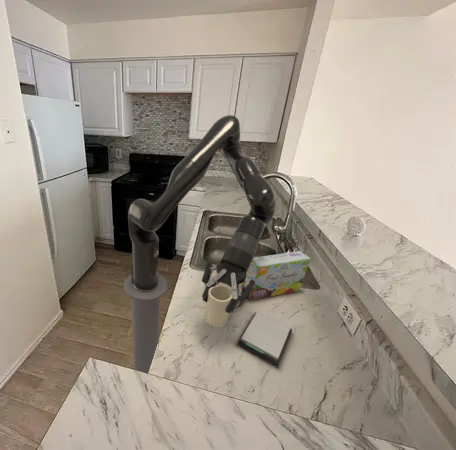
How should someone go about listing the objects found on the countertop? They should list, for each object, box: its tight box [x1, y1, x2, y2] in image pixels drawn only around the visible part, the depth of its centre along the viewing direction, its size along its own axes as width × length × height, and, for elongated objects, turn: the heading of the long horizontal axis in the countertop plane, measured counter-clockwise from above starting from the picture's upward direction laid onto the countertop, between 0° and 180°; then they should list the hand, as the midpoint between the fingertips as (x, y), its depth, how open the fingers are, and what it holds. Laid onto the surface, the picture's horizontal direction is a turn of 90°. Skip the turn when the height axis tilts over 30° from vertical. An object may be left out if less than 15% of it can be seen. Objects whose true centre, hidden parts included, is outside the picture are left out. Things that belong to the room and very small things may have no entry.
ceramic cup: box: [204, 286, 232, 328], centre depth 70 cm, size 6×6×9 cm
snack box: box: [242, 250, 311, 301], centre depth 91 cm, size 21×6×15 cm, turn 105°
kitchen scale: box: [237, 311, 293, 368], centre depth 74 cm, size 11×14×3 cm
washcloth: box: [209, 269, 243, 308], centre depth 94 cm, size 12×18×3 cm, turn 162°
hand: (215, 306), depth 68 cm, fingers closed on ceramic cup, 6 cm apart
